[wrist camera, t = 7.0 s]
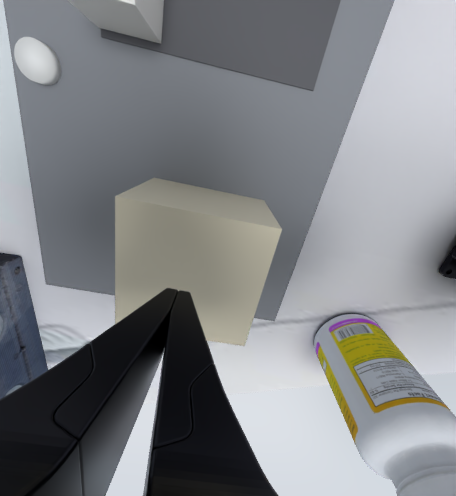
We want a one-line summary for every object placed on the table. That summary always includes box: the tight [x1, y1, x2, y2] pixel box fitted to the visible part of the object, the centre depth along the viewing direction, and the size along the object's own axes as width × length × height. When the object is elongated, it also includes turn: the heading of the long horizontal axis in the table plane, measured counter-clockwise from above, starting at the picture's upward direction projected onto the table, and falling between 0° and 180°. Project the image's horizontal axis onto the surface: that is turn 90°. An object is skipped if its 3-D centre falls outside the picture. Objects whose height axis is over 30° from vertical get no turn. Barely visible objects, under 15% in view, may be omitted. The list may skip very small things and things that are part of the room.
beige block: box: [115, 178, 282, 346], centre depth 13 cm, size 7×7×5 cm
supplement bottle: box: [314, 314, 456, 496], centre depth 18 cm, size 7×7×13 cm
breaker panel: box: [3, 0, 394, 321], centre depth 14 cm, size 18×24×4 cm
